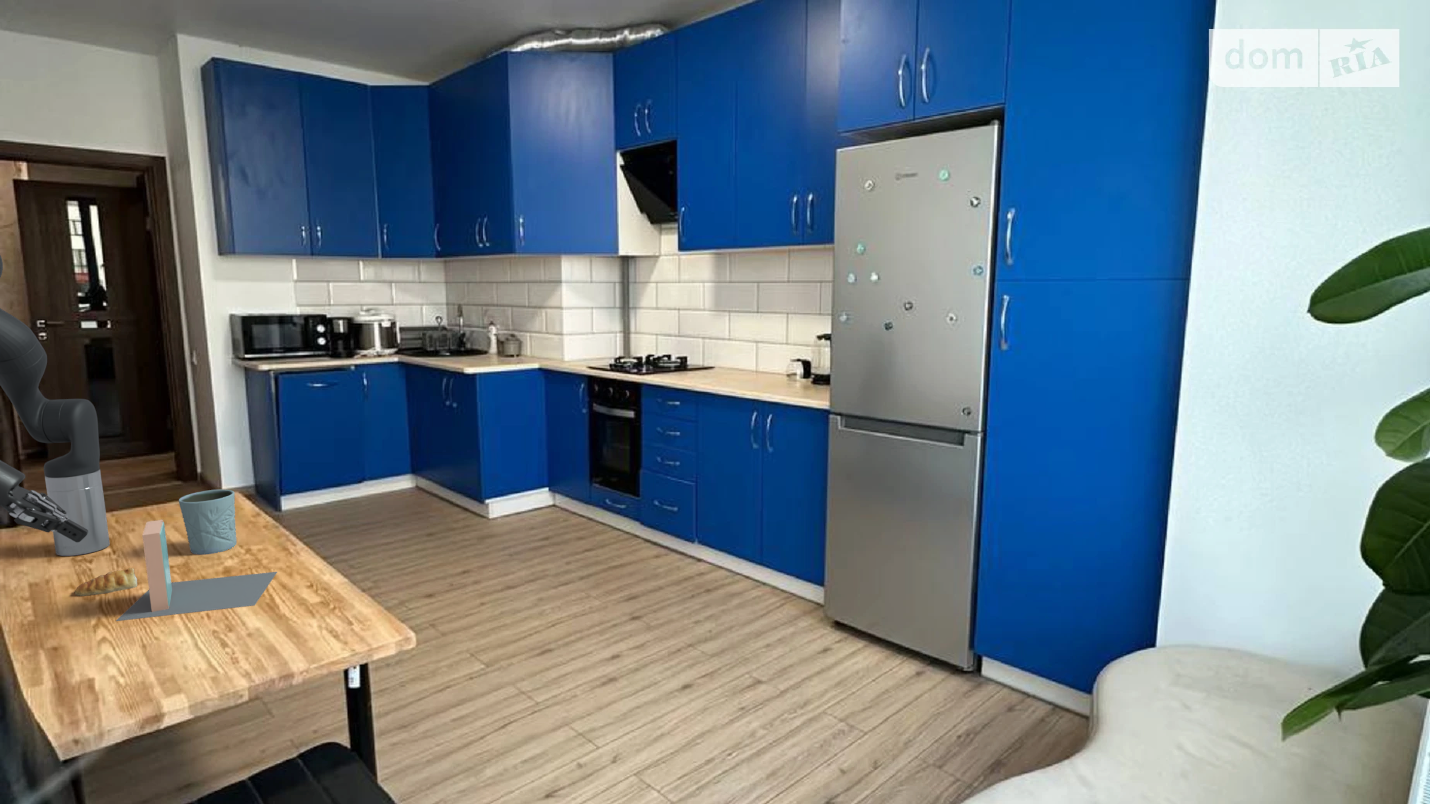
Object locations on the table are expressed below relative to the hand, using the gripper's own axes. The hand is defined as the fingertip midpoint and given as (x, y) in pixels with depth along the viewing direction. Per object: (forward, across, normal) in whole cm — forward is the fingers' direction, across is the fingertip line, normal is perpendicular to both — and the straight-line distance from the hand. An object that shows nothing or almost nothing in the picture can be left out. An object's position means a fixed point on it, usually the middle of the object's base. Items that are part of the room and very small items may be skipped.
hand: (84, 537), depth 132 cm
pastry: (+11, +14, +10) cm, 20 cm away
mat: (+22, 0, -1) cm, 22 cm away
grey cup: (+22, +31, -2) cm, 38 cm away
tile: (+17, 0, +3) cm, 17 cm away
